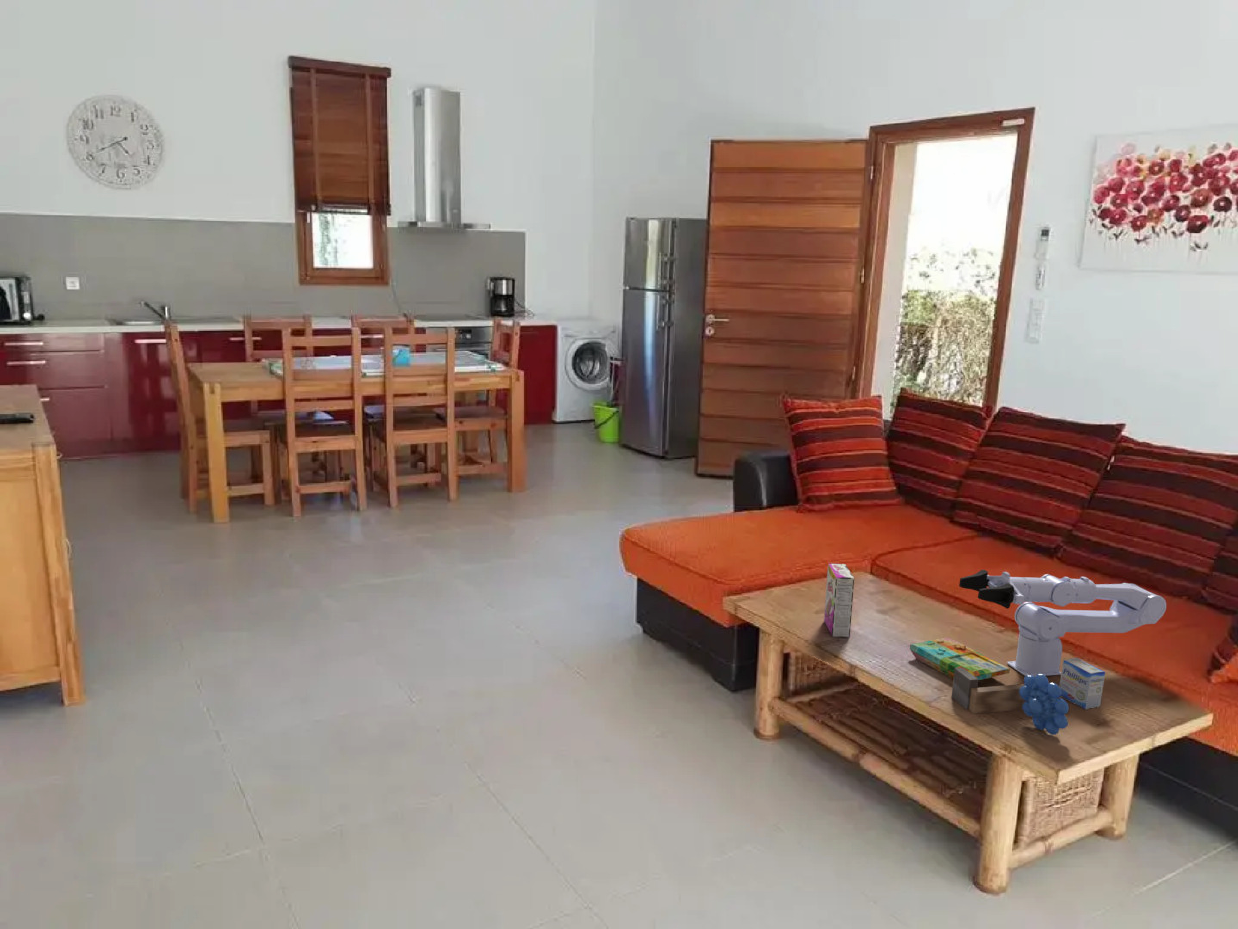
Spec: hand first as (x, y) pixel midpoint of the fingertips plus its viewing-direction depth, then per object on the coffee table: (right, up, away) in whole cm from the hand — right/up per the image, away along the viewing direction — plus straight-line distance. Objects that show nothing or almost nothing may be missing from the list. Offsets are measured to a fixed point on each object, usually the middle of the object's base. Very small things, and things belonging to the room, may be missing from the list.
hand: (969, 588), depth 222 cm
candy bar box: (-24, -15, +30) cm, 41 cm away
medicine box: (+22, -25, -7) cm, 34 cm away
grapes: (+7, -27, -21) cm, 35 cm away
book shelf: (+4, -24, -8) cm, 26 cm away
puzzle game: (0, -21, +8) cm, 22 cm away
